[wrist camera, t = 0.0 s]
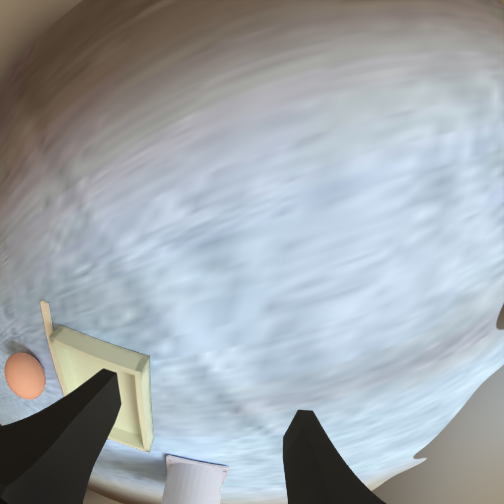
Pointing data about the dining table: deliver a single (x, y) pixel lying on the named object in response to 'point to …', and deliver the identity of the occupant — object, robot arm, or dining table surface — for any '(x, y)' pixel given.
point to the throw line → (49, 330)
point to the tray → (129, 379)
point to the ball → (25, 376)
